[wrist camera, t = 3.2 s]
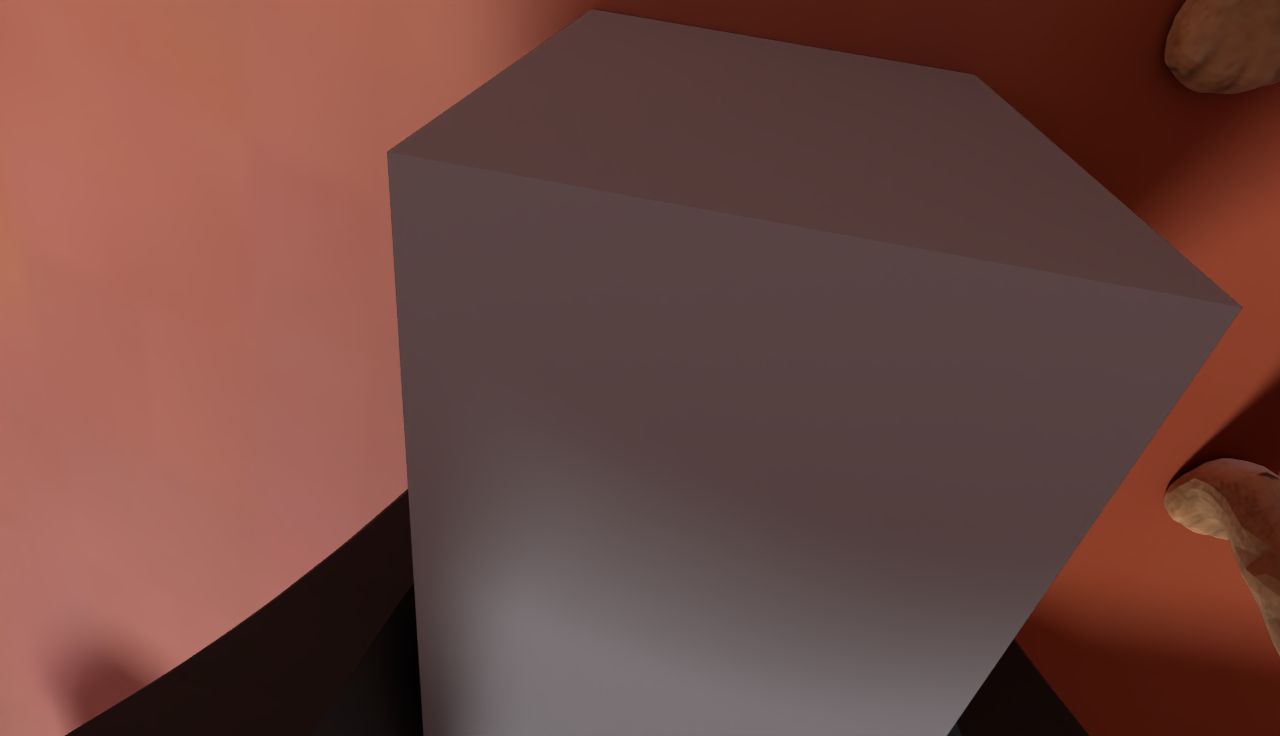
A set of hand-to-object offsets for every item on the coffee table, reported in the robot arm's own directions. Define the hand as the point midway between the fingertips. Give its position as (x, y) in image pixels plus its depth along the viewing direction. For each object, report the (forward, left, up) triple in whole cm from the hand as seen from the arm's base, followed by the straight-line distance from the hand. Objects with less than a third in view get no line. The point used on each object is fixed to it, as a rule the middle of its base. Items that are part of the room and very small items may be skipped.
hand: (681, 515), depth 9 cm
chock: (0, 0, -1) cm, 1 cm away
